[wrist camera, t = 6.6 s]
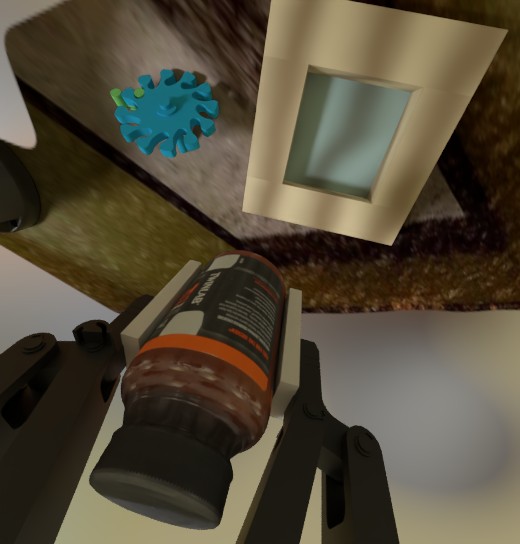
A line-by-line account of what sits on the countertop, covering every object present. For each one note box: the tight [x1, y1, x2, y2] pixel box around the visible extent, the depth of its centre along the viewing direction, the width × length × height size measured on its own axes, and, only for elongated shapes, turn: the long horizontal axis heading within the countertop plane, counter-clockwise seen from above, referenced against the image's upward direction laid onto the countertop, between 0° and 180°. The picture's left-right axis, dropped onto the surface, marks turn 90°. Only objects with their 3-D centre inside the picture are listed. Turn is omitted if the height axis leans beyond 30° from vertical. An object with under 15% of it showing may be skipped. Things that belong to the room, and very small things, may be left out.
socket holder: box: [242, 0, 508, 245], centre depth 23 cm, size 18×18×3 cm
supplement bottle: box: [89, 250, 285, 530], centre depth 11 cm, size 6×6×11 cm
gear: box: [110, 69, 219, 157], centre depth 24 cm, size 11×6×10 cm
